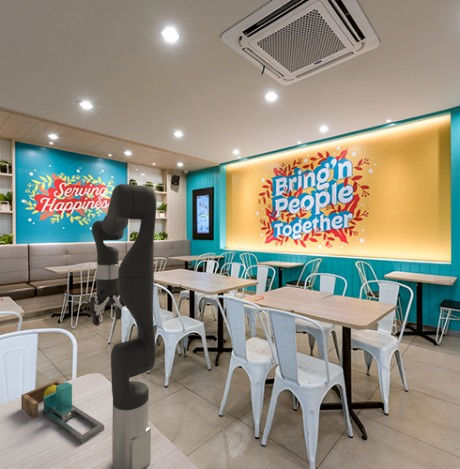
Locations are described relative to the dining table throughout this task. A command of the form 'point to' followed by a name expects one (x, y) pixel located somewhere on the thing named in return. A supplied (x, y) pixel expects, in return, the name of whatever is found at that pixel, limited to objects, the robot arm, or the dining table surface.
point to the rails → (71, 431)
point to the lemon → (49, 391)
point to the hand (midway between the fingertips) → (107, 322)
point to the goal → (35, 399)
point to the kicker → (60, 402)
